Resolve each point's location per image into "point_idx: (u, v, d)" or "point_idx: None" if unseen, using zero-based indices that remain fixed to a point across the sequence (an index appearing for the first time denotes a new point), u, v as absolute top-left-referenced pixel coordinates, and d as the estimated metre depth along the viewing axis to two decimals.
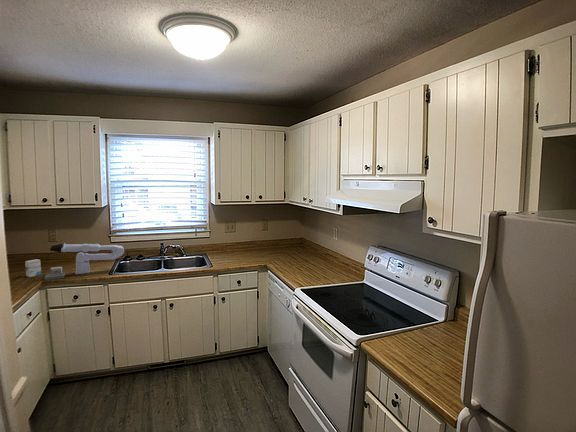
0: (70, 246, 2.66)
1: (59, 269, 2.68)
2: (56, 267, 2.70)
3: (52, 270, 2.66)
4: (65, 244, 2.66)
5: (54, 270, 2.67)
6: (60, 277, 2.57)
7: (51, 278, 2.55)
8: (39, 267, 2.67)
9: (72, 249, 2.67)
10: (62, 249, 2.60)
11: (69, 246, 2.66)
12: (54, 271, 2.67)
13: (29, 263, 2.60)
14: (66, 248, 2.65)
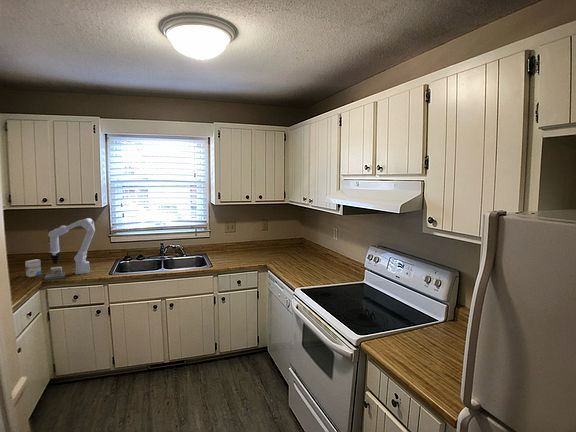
0: (51, 247, 2.65)
1: (59, 269, 2.68)
2: (56, 267, 2.70)
3: (52, 270, 2.66)
4: (50, 251, 2.66)
5: (54, 270, 2.67)
6: (60, 277, 2.57)
7: (51, 278, 2.55)
8: (40, 267, 2.67)
9: (54, 245, 2.65)
10: (53, 254, 2.61)
11: (52, 248, 2.65)
12: (54, 271, 2.67)
13: (29, 263, 2.60)
14: (54, 250, 2.65)
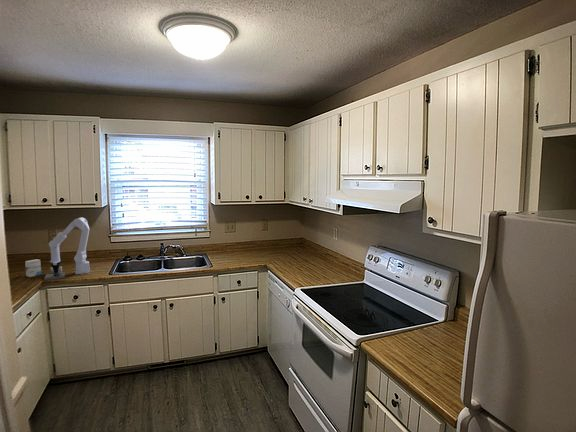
0: (52, 256, 2.65)
1: (59, 269, 2.68)
2: None
3: (52, 270, 2.66)
4: (51, 260, 2.67)
5: None
6: (60, 277, 2.57)
7: (51, 278, 2.55)
8: (39, 267, 2.67)
9: (54, 255, 2.66)
10: (54, 264, 2.62)
11: (52, 257, 2.66)
12: None
13: (29, 263, 2.60)
14: (54, 260, 2.66)
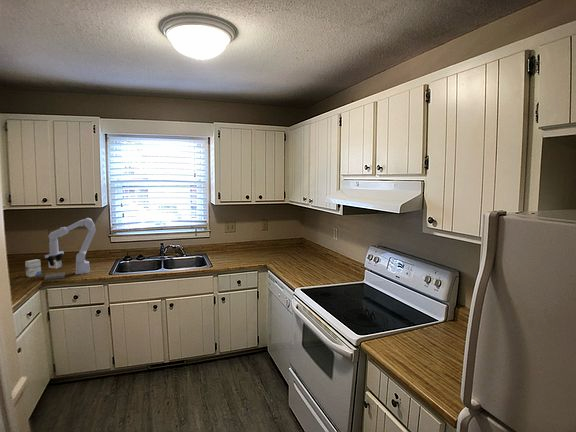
0: None
1: (54, 263, 2.61)
2: (56, 260, 2.65)
3: (49, 263, 2.62)
4: None
5: None
6: (60, 277, 2.57)
7: (51, 278, 2.55)
8: (39, 267, 2.67)
9: (54, 247, 2.61)
10: (45, 256, 2.56)
11: None
12: None
13: (29, 263, 2.60)
14: (50, 252, 2.60)
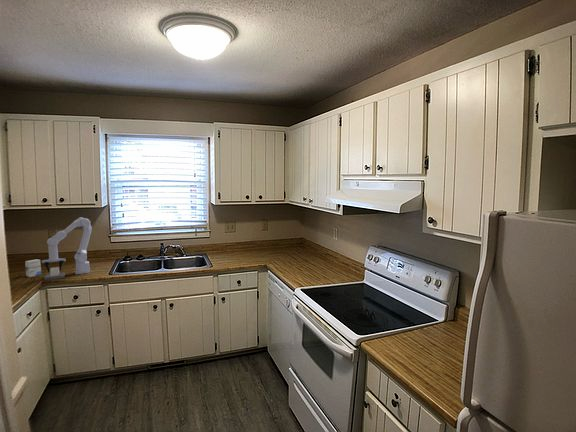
0: None
1: (50, 271, 2.56)
2: (55, 268, 2.59)
3: None
4: None
5: None
6: (60, 277, 2.57)
7: (51, 278, 2.55)
8: (40, 267, 2.67)
9: (55, 253, 2.56)
10: (42, 261, 2.55)
11: None
12: None
13: (29, 263, 2.60)
14: None
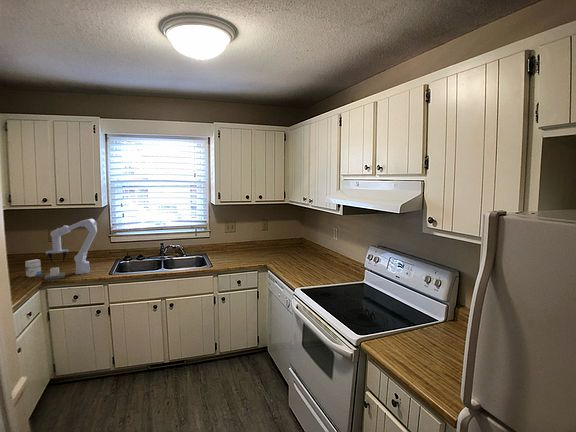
0: None
1: (50, 271, 2.56)
2: (55, 268, 2.59)
3: None
4: None
5: None
6: (60, 277, 2.57)
7: (51, 278, 2.55)
8: (40, 267, 2.67)
9: (56, 244, 2.65)
10: (46, 252, 2.65)
11: None
12: None
13: (29, 263, 2.60)
14: None
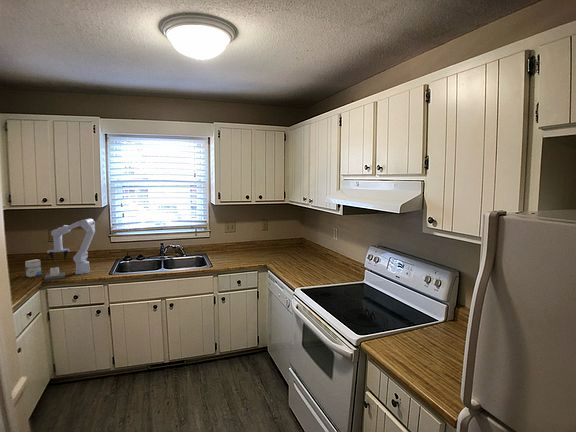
0: None
1: (50, 271, 2.56)
2: (55, 268, 2.59)
3: None
4: None
5: None
6: (60, 277, 2.57)
7: (51, 278, 2.55)
8: (40, 267, 2.67)
9: (56, 244, 2.68)
10: None
11: None
12: None
13: (29, 263, 2.60)
14: None
